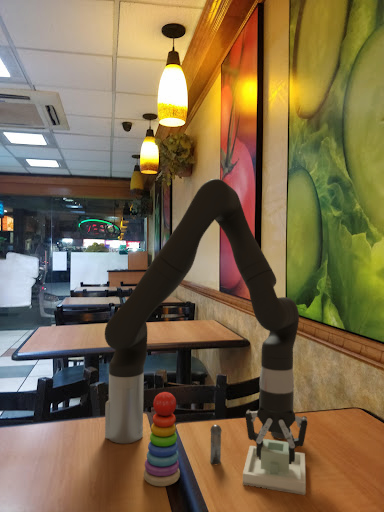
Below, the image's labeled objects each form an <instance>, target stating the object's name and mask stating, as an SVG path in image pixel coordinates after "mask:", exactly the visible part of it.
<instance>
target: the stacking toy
mask: <svg viewBox="0 0 384 512" xmlns="http://www.w3.org/2000/svg"><path fill="white" fill-rule="evenodd" d="M152 404H153V405H152V406H153V409H154V412H155V414H154V415H153V417H152V424H151V427H150V431H151V433H150V435H149V442H148V445H147V448H148V451H147V453H146V459H145V462H144V471H143V478H144V480H145V481H146V482H147V483H148V484H150V485H151V486H155V487H167V486H171V485H173V484H175V483H176V482H177V481H178V480H179V478H180V477H181V476H180V475H181V471H180V467H179V466H180V464H179V451H178V443H177V440H178V435H177V432H176V431H177V427H176V425H175V423H176V421H177V419H176V416H175V414H174V412H175V411H176V407H177V400H176V397H175V396H174V395H173V394H172V393H171V392H169V391H162V392H159V393H158V394H157V395H155V397H154V399H153V403H152Z"/></svg>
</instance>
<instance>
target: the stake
mask: <svg viewBox="0 0 384 512" xmlns="http://www.w3.org/2000/svg"><path fill="white" fill-rule="evenodd" d="M221 444H222V428H221V425H219V424H213V425H212V426H211V428H210V464H212V465H215V464H217V465H220V464H221V458H222V453H221V452H222V450H221V449H222V447H221V446H222V445H221Z"/></svg>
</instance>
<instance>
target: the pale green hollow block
mask: <svg viewBox="0 0 384 512" xmlns="http://www.w3.org/2000/svg"><path fill="white" fill-rule="evenodd" d="M261 469H264V470H271V472H270V473H271V474H277V475H278V472H284V473H289V444H288V441H282V440H277V439H276V440H274V439H268V438H263V447H262V449H261Z"/></svg>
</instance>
